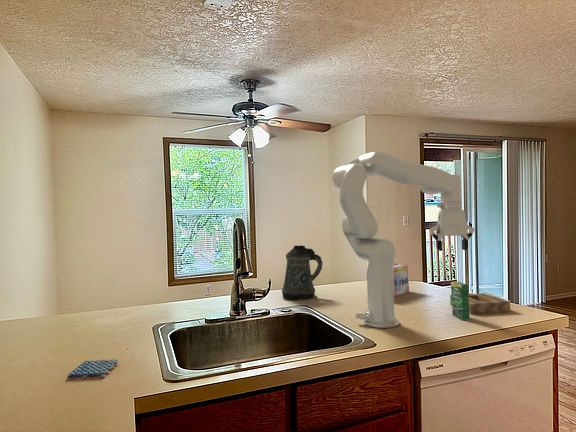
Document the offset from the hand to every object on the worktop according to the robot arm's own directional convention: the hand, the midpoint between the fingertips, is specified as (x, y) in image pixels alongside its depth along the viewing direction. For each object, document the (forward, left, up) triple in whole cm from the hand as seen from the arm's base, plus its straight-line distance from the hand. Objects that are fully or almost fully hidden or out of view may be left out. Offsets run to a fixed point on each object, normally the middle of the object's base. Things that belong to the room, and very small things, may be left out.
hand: (452, 250), depth 154 cm
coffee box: (-1, -6, -25) cm, 26 cm away
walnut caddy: (+13, +5, -25) cm, 28 cm away
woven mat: (-123, -34, -26) cm, 130 cm away
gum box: (-12, +38, -25) cm, 47 cm away
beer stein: (-55, +45, -25) cm, 75 cm away
